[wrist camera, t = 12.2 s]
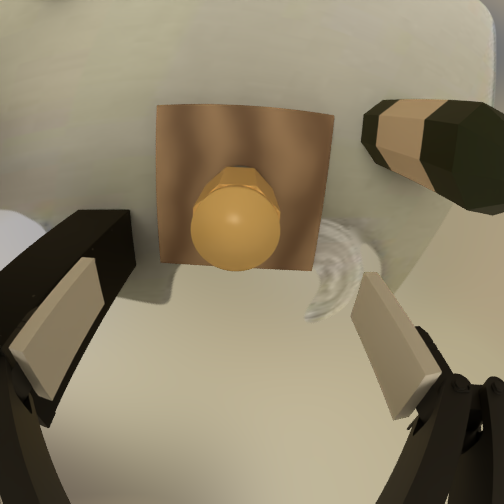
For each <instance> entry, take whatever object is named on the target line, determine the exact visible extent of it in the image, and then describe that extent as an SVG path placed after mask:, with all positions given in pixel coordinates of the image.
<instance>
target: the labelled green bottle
mask: <svg viewBox="0 0 504 504" xmlns="http://www.w3.org/2000/svg"><path fill="white" fill-rule="evenodd" d="M361 142H362V144H363V145H364V147H365V148H366V149H367V151H368V152H369V154H370V155H371V157H372V158H373V160H374V161H375V163H376V164H379V165H381V166H383V167H385V168H387V169H390V170H392V171H394V172H396V173H398V174H400V175H402V176H404V177H406V178H409V179H411V180H413V181H415V182H417V183H419V184H421V185H422V186H424V187H426V188H428V189H430V190H432V191H434V192H436V193H438V194H439V195H441V196H443V197H445V198H447V199H448V200H450V201H452V202H454V203H456V204H457V205H459V206H461V207H462V208H464V209H466V210H469V211H474V212H479V213H483V214H489V215H496V214H499V213H503V212H504V114H503V113H501V112H500V111H498V110H496V109H494V108H493V107H491V106H489V105H487V104H485V103H483V102H473V101H459V100H436V99H400V100H382V101H381V102H380V103H378V104H377V105H376V106H374V107H373V108H372V109H371V110H369V111H368V112H367V113H365V114H364V118H363V128H362V137H361Z"/></svg>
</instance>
